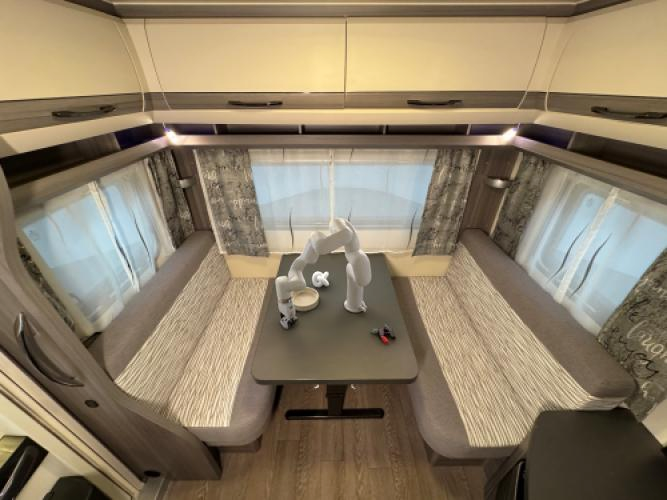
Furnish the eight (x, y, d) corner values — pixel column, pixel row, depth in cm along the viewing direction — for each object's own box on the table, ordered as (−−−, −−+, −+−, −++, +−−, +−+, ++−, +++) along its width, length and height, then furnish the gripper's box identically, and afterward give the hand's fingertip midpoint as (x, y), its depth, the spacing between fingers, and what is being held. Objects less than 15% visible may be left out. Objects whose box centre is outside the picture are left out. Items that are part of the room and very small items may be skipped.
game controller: (287, 329, 141) (280, 320, 140) (282, 331, 144) (276, 323, 144) (298, 318, 148) (292, 310, 148) (293, 320, 151) (287, 312, 151)
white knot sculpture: (318, 277, 184) (318, 266, 179) (333, 281, 179) (333, 271, 174) (310, 286, 175) (309, 275, 171) (325, 291, 170) (325, 280, 166)
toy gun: (370, 330, 141) (371, 324, 138) (392, 329, 141) (393, 323, 139) (373, 345, 132) (374, 338, 130) (396, 344, 133) (397, 337, 130)
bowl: (324, 301, 162) (324, 295, 160) (302, 316, 151) (302, 310, 149) (306, 288, 173) (305, 283, 171) (284, 301, 162) (283, 296, 160)
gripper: (300, 301, 134) (302, 326, 143) (281, 287, 145) (284, 310, 154) (289, 309, 130) (292, 333, 138) (269, 293, 140) (273, 317, 149)
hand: (287, 321), depth 146 cm, fingers open, 7 cm apart
